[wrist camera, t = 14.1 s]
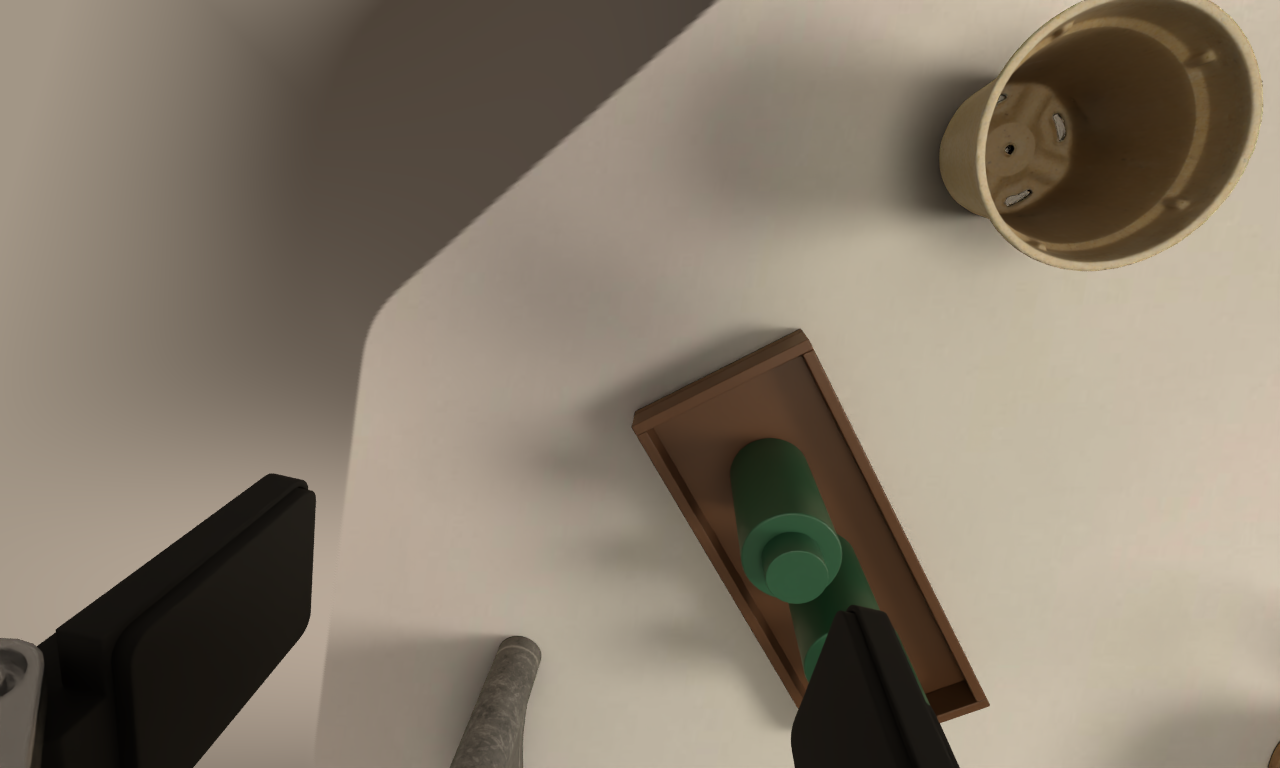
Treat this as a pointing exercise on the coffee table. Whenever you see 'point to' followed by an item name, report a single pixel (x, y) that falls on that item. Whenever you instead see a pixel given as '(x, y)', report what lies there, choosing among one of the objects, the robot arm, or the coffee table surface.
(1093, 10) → the flower pot
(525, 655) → the flask
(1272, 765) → the mug
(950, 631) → the tray
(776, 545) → the bottle
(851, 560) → the bottle mid
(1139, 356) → the coffee table surface
